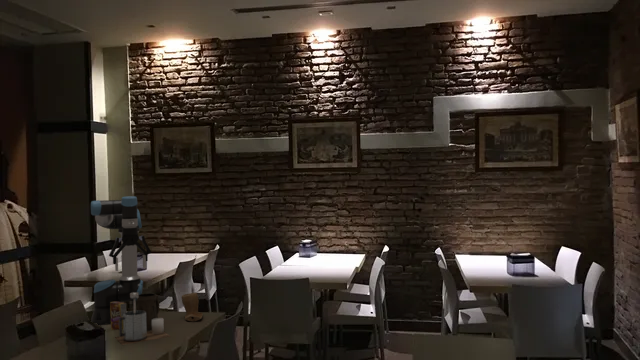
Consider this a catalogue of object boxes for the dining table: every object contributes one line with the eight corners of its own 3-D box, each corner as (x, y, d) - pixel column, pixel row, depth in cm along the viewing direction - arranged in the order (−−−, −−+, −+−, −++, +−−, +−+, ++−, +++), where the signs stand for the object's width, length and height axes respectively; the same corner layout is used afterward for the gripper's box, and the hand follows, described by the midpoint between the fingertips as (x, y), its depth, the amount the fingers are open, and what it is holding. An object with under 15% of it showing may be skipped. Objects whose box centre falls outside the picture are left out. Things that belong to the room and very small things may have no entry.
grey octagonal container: (117, 338, 280) (116, 312, 280) (143, 334, 287) (142, 309, 287) (122, 343, 271) (121, 317, 271) (149, 339, 278) (148, 313, 278)
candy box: (110, 330, 302) (109, 302, 302) (117, 328, 306) (116, 300, 306) (120, 332, 297) (120, 304, 297) (127, 330, 301) (126, 302, 301)
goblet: (125, 332, 281) (124, 292, 281) (141, 330, 285) (140, 290, 285) (129, 336, 274) (128, 295, 274) (145, 333, 279) (144, 293, 278)
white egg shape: (150, 332, 291) (150, 319, 291) (161, 330, 294) (161, 317, 294) (153, 335, 286) (153, 321, 286) (165, 333, 289) (165, 319, 289)
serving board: (114, 340, 283) (114, 337, 283) (161, 332, 296) (161, 329, 296) (122, 348, 270) (122, 344, 270) (171, 339, 282) (171, 336, 282)
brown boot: (183, 316, 330) (182, 291, 330) (203, 315, 332) (203, 290, 332) (179, 322, 315) (179, 296, 315) (201, 321, 317) (200, 295, 317)
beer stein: (150, 334, 292) (151, 296, 293) (132, 333, 294) (132, 295, 295) (164, 328, 307) (165, 292, 308) (146, 328, 309) (147, 291, 310)
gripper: (105, 229, 270) (106, 273, 270) (156, 226, 284) (157, 267, 284) (102, 228, 276) (103, 270, 276) (152, 225, 290) (153, 265, 290)
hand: (130, 269), depth 280 cm, fingers open, 13 cm apart
